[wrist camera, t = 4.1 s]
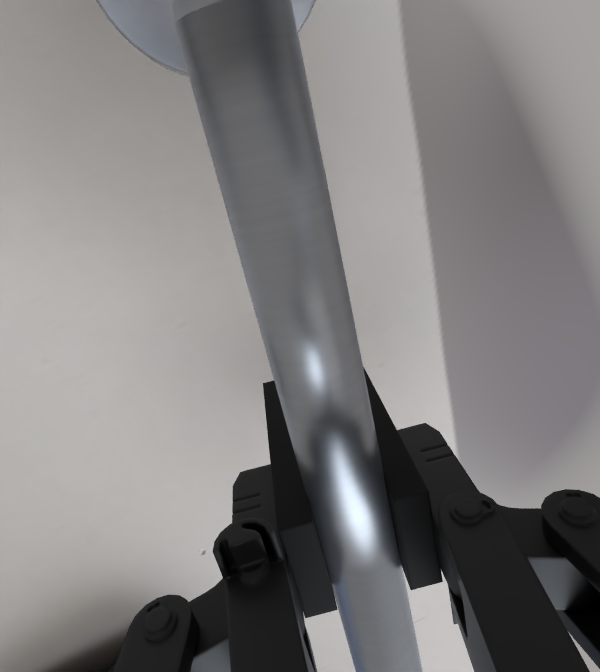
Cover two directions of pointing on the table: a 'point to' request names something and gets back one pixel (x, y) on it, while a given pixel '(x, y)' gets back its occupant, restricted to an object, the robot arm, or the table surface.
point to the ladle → (293, 285)
